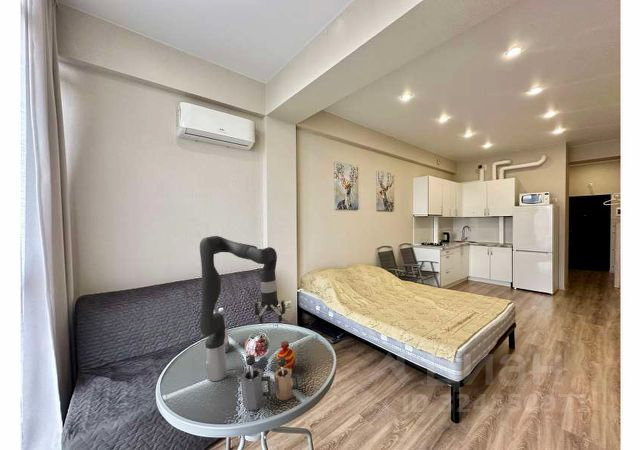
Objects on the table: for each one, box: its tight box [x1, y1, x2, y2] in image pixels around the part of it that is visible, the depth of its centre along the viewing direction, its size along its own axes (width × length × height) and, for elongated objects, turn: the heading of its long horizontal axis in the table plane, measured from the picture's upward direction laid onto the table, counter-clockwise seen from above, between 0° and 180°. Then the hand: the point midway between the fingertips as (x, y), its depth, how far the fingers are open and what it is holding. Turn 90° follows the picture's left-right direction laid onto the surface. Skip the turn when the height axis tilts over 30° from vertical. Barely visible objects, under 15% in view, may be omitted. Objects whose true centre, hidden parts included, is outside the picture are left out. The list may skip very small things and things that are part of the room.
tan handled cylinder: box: [273, 368, 300, 401], centre depth 118 cm, size 10×8×10 cm
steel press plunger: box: [245, 354, 256, 379], centre depth 114 cm, size 4×4×19 cm
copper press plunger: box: [277, 357, 286, 376], centre depth 118 cm, size 3×3×15 cm
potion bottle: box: [276, 340, 296, 372], centre depth 136 cm, size 10×10×15 cm
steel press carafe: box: [240, 367, 273, 412], centre depth 114 cm, size 12×9×13 cm
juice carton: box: [214, 307, 230, 353], centre depth 162 cm, size 9×10×27 cm
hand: (271, 322), depth 123 cm, fingers open, 8 cm apart
